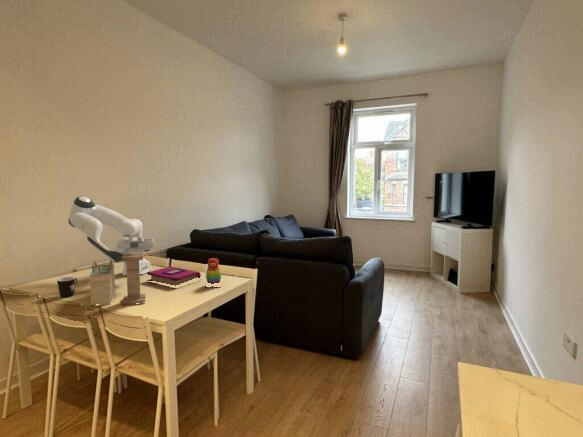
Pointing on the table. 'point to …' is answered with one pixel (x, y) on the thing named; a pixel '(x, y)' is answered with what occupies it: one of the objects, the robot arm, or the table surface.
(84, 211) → the robot arm
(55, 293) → the table surface
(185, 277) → the book
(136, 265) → the walnut stand
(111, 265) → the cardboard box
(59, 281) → the coffee mug
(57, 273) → the table surface
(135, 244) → the remote
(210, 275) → the stacking bear
